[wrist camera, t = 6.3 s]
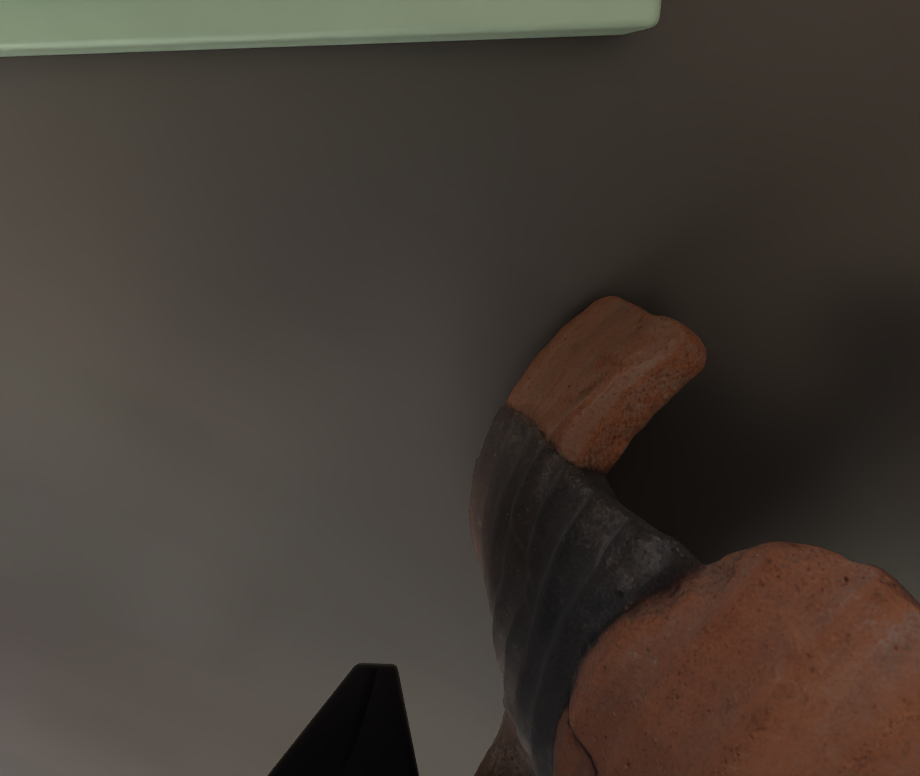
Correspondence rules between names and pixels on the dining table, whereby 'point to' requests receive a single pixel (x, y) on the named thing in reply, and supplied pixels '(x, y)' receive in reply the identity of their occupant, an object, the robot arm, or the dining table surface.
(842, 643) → the pottery mug
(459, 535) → the dining table surface
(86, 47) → the box
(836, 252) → the dining table surface
